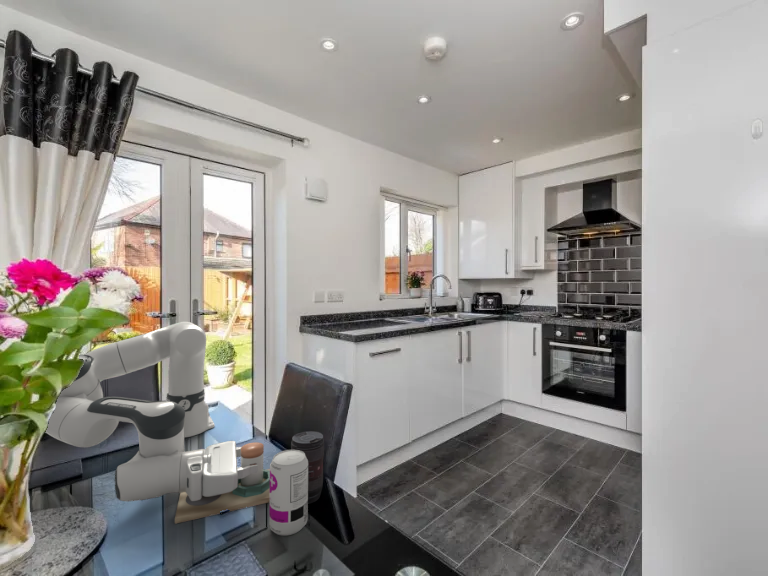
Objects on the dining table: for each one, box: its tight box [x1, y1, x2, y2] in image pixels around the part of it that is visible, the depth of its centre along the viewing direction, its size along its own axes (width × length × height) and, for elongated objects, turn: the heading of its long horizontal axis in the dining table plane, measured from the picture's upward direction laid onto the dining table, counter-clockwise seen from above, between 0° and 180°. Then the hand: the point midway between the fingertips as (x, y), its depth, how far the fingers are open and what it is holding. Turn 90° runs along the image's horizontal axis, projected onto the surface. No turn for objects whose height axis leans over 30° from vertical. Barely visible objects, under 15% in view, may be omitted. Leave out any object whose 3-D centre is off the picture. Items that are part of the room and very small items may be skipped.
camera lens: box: [290, 430, 325, 504], centre depth 89 cm, size 8×8×15 cm
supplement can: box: [268, 449, 309, 536], centre depth 79 cm, size 8×8×15 cm
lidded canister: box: [240, 441, 265, 487], centre depth 91 cm, size 6×6×10 cm
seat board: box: [174, 468, 270, 525], centre depth 89 cm, size 14×22×3 cm, turn 114°
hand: (256, 458), depth 92 cm, fingers open, 8 cm apart
